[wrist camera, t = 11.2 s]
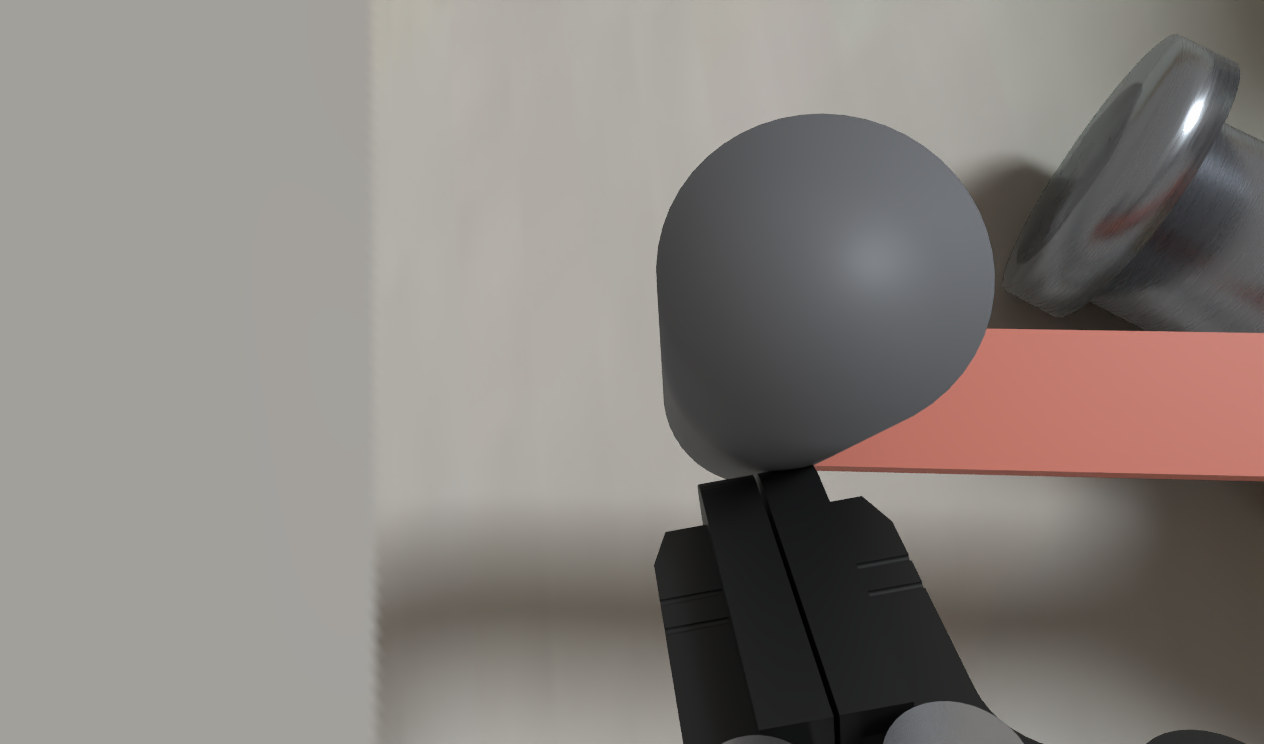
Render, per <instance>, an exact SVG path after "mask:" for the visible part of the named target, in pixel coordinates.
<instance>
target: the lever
mask: <svg viewBox="0 0 1264 744" xmlns="http://www.w3.org/2000/svg"><path fill="white" fill-rule="evenodd" d="M656 274H657V294H658V311H659V328H660V344H661V361H662V378H663V394H664V406H665V411H666V416H667V419H668V422H669V425H670V428H671V430H672V432H673V434H674V436H675V438H676V439H677V441H678V442H679V444H680V446H681V447H682V448H683V449H684V451H685V452H686V453H687V454H688V455H689V456H690V457H691V458H692V459H693V460H694V461H695V462H696V463H697V464H699V465H700V466H702V467H703V468H705V469H706V470H707V471H709V472H711V473H713V474H715V475H717V476H719V477H722V478H725V479H732V478H737V477H743V476H748V475H753V476H754V478H755V479H756V474H758V473H763V472H769V471H780V470H791V469H797V468H803V467H807V466H810V465H813V466H814V467H815V469H816V471H853V472H895V473H937V474H978V475H1020V476H1062V477H1104V478H1145V479H1187V480H1229V481H1264V333H1228V332H1167V331H1105V330H1044V329H987V326H988V323H989V319H990V316H991V311H992V305H993V299H994V288H995V269H994V261H993V252H992V248H991V244H990V240H989V236H988V232H987V229H986V227H985V224H984V222H983V219H982V217H981V214H980V212H979V210H978V208H977V206H976V204H975V203H974V201H973V199H972V197H971V196H970V194H969V192H968V191H967V189H966V188H965V187H964V185H963V184H962V183H961V181H960V180H959V179H958V177H957V176H956V175H955V174H954V173H953V172H952V171H951V170H950V169H949V168H948V167H947V166H946V165H945V164H944V163H943V161H942V160H941V159H939V158H938V157H937V156H936V155H934V154H933V153H932V152H931V151H929V150H928V149H927V148H926V147H924V146H923V145H921V144H920V143H918V142H916V141H915V140H913V139H911V138H910V137H908V136H907V135H905V134H903V133H900V132H898V131H896V130H894V129H892V128H890V127H887V126H885V125H882V124H879V123H876V122H872V121H869V120H866V119H862V118H856V117H851V116H846V115H834V114H808V115H798V116H792V117H786V118H781V119H777V120H774V121H771V122H768V123H764V124H761V125H758V126H756V127H754V128H752V129H750V130H747V131H745V132H743V133H741V134H739V135H737V136H736V137H734V138H733V139H731V140H729V141H728V142H726V143H724V144H723V145H722V146H720V147H719V148H718V149H717V150H715V151H714V152H713V153H712V154H710V155H709V156H708V157H707V158H706V159H705V160H704V161H703V162H702V163H701V164H700V165H699V166H698V167H697V168H696V169H695V170H694V171H693V172H692V174H691V175H690V176H689V178H688V179H687V180H686V182H685V183H684V185H683V186H682V187H681V189H680V190H679V192H678V194H677V196H676V198H675V199H674V201H673V203H672V205H671V207H670V209H669V212H668V214H667V217H666V220H665V222H664V225H663V228H662V233H661V237H660V241H659V245H658V254H657V265H656Z"/></svg>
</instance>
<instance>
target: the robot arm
mask: <svg viewBox="0 0 1264 744" xmlns="http://www.w3.org/2000/svg"><path fill="white" fill-rule="evenodd" d="M698 494H699V501H700V507H701V514H702V521H703V525H702V526H697V527H691V528H686V529H680V530H675V531H669V532H665V535H664V538H663V541H662V544H661V547H660V550H659V553H658V556H657V558H656V561H655V564H654V567H655V573H656V579H657V585H658V591H659V598H660V603H661V610H662V616H663V622H664V628H665V634H666V640H667V646H668V653H669V659H670V665H671V671H672V677H673V683H674V689H675V695H676V702H677V708H678V714H679V720H680V726H681V732H682V738H683V744H1042V743H1039V742H1037V741H1034V740H1032V739H1030V738H1028V737H1025V736H1024V735H1022V734H1020V733H1018V732H1017V731H1015V730H1013V729H1012V728H1010V727H1009V726H1008V725H1006V724H1005V723H1004V722H1003V721H1001V720H1000V719H999V718H998V717H997V716H996V715H994V714H993V713H992V712H991V711H990V710H989V708H988V707H987V706H986V705H985V703H984V702H983V701H982V700H981V698H980V696H979V695H978V693H977V691H976V690H975V688H974V686H973V684H972V682H971V680H970V678H969V676H968V674H967V672H966V670H965V668H964V666H963V663H962V661H961V659H960V657H959V655H958V653H957V651H956V649H955V647H954V645H953V643H952V641H951V639H950V637H949V635H948V633H947V631H946V629H945V627H944V625H943V623H942V621H941V619H940V617H939V615H938V613H937V611H936V609H935V607H934V605H933V603H932V601H931V599H930V597H929V595H928V593H927V591H926V589H925V588H923V586H922V581H921V579H920V577H919V575H918V573H917V571H916V569H915V567H914V565H913V563H912V561H910V560H909V556H908V553H907V551H906V549H905V547H904V545H903V543H902V540H901V538H900V536H899V534H898V532H897V530H896V528H895V526H894V524H893V522H892V521H891V520H890V519H888V518H887V517H886V516H885V515H884V514H883V513H881V512H880V511H879V510H878V509H877V508H875V507H874V506H873V505H872V504H871V503H869V502H868V501H867V500H866V499H865V498H863V497H862V496H860V497H855V498H849V499H844V500H838V501H833V502H830V501H829V499H828V496H827V494H826V492H825V489H824V487H823V485H822V482H821V480H820V477H819V475H818V473H817V471H816V469H815V467H814V466H813V465H810V466H807V467H803V468H797V469H791V470H780V471H769V472H763V473H758V474H756V479H755V478H754V476H753V475H748V476H743V477H737V478H732V479H726V480H721V481H715V482H710V483H704V484H699V485H698ZM1147 744H1245V743H1242V742H1240V741H1238V740H1236V739H1233V738H1230V737H1227V736H1224V735H1221V734H1217V733H1213V732H1208V731H1201V730H1178V731H1173V732H1168V733H1164V734H1162V735H1160V736H1158V737H1155V738H1154V739H1152V740H1151V741H1150V742H1148V743H1147Z"/></svg>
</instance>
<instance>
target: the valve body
mask: <svg viewBox="0 0 1264 744" xmlns="http://www.w3.org/2000/svg"><path fill="white" fill-rule="evenodd" d="M1239 80H1240V69H1239V66H1238V64H1237V63H1236V62H1234V61H1232V60H1230V59H1228V58H1226V57H1224V56H1222V55H1219V54H1217V53H1215V52H1213V51H1211V50H1209V49H1207V48H1205V47H1203V46H1201V45H1198V44H1196V43H1194V42H1192V41H1190V40H1188V39H1186V38H1184V37H1182V36H1179V35H1171V36H1169V37H1167V38H1166V39H1164V40H1163V41H1161V42H1160V43H1159V44H1157V45H1156V46H1155V47H1154V48H1153V49H1152V50H1151V51H1150V52H1149V53H1147V54H1146V55H1145V56H1144V57H1143V58H1142V59H1141V61H1140V62H1139V63H1138V64H1137V65H1136V66H1135V67H1134V68H1133V69H1132V70H1131V71H1130V72H1129V74H1128V75H1127V76H1126V77H1125V78H1124V79H1123V81H1122V82H1121V83H1120V84H1119V85H1118V87H1117V88H1116V89H1115V90H1114V91H1113V93H1112V94H1111V95H1110V96H1109V98H1108V99H1107V100H1106V102H1105V103H1104V104H1103V105H1102V107H1101V108H1100V109H1099V111H1098V112H1097V113H1096V115H1095V116H1094V117H1093V119H1092V120H1091V121H1090V123H1089V124H1088V126H1087V127H1086V128H1085V130H1084V131H1083V132H1082V134H1081V135H1080V137H1079V138H1078V140H1077V141H1076V143H1075V144H1074V145H1073V147H1072V148H1071V150H1070V151H1069V153H1068V154H1067V156H1066V157H1065V159H1064V160H1063V162H1062V163H1061V165H1060V166H1059V168H1058V170H1057V171H1056V173H1055V174H1054V176H1053V177H1052V179H1051V181H1050V182H1049V184H1048V186H1047V187H1046V189H1045V190H1044V192H1043V194H1042V196H1041V197H1040V199H1039V201H1038V202H1037V204H1036V206H1035V208H1034V209H1033V211H1032V213H1031V215H1030V217H1029V218H1028V220H1027V222H1026V224H1025V226H1024V228H1023V230H1022V232H1021V234H1020V236H1019V238H1018V240H1017V242H1016V244H1015V247H1014V249H1013V251H1012V253H1011V256H1010V258H1009V261H1008V263H1007V267H1006V270H1005V273H1004V278H1003V288H1004V290H1005V291H1007V292H1009V293H1011V294H1013V295H1014V296H1016V297H1018V298H1020V299H1022V300H1024V301H1026V302H1028V303H1030V304H1032V305H1033V306H1035V307H1037V308H1039V309H1041V310H1043V311H1045V312H1047V313H1049V314H1051V315H1052V316H1054V317H1059V318H1060V317H1065V316H1068V315H1070V314H1072V313H1074V312H1075V311H1077V310H1079V309H1080V308H1082V307H1083V306H1084V305H1086V304H1087V303H1088V302H1089V301H1090V302H1091V303H1093V304H1095V305H1097V306H1099V307H1101V308H1103V309H1105V310H1107V311H1109V312H1111V313H1113V314H1114V315H1116V316H1118V317H1120V318H1122V319H1124V320H1126V321H1128V322H1130V323H1132V324H1134V325H1135V326H1137V327H1139V328H1141V329H1143V330H1145V331H1167V332H1228V333H1264V142H1263V141H1261V140H1259V139H1257V138H1255V137H1253V136H1251V135H1248V134H1246V133H1244V132H1242V131H1240V130H1238V129H1236V128H1234V127H1232V126H1230V125H1228V124H1226V123H1224V122H1225V120H1226V118H1227V116H1228V114H1229V111H1230V109H1231V106H1232V104H1233V102H1234V99H1235V95H1236V92H1237V89H1238V85H1239Z"/></svg>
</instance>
